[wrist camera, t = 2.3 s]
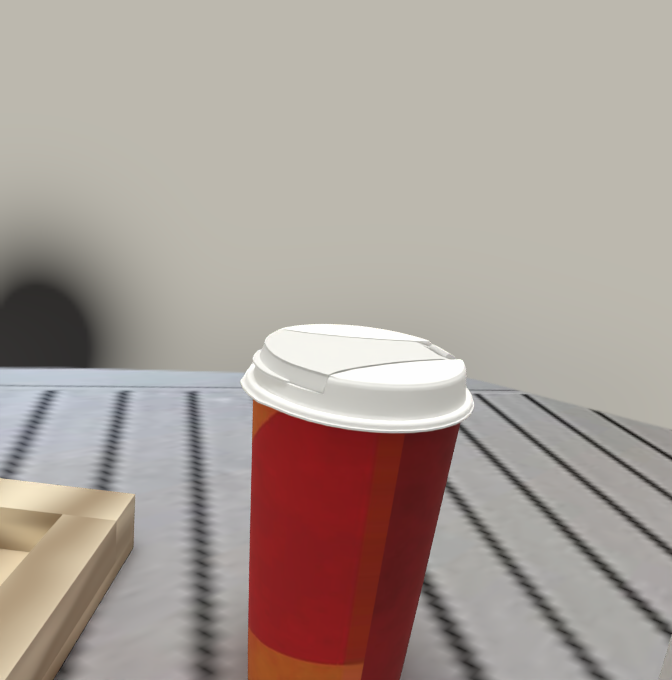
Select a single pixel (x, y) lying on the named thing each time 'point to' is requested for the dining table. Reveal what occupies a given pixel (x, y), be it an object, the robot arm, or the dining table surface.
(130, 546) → the tray
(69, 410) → the dining table surface
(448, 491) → the dining table surface
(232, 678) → the dining table surface
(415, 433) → the paper cup
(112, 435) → the dining table surface
